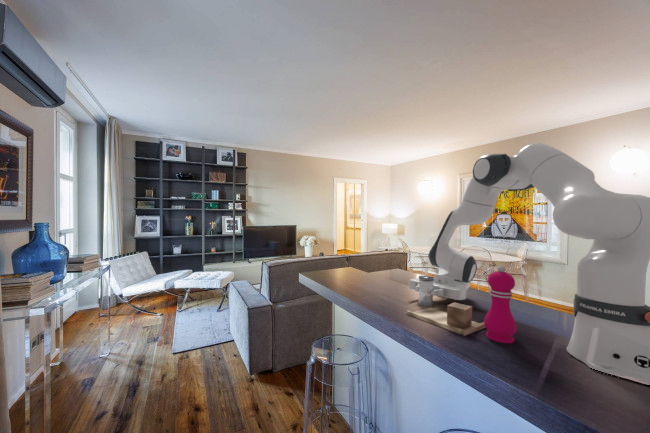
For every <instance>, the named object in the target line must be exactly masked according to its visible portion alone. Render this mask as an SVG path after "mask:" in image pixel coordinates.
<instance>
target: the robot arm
mask: <svg viewBox="0 0 650 433" xmlns="http://www.w3.org/2000/svg"><path fill="white" fill-rule="evenodd" d="M595 178H596V176H595V173H594V171H593V170H591V169H590V168H588V167H586V166H585V165H584V164H582V163H581V162H579V161H577V160H576V159H575V158H573V157H572V156H570V155H568V154H567V153H565V152H563V151H561V150H560V149H558V148H555V147H553V146H551V145H547V144H545V143H543V142H542V143H541V142H534V143H531V144H528V145H526V146H524V147H523V148H521V149H520V150H519V151H518V153H517V154H514V155H509V154H507V153H488V154H485V155H482V156H480V157H478V159H476V161H475V163H474V164H473V168H472V177H471V179H470V181H469V183H468V185H467V187H466V189H465V192H464V195H463V197H462V201H461V203H460V205H459V206H458V207H457V208H456V209H453V210H451V211H450V213H449V214H448V216H447V218H446V220H445V221H444V223H443V226H442V228H441V230H440V231H439V234H438V236H437V237H436V240H435V242H434V244H433V245H432V247H431V248H430V250H429V253H428V259H429V262H430V264H431V266H432V267H433V266H434V267H436V268H438V269H441V270H444V271H446V272H447V273H443V274H440V275H436V276H434V280H433V290H431V295H433V297H438V298H440V299H450V300H455V301H465V300H466V299H467V291H468V289H469V288H470V286H471V284H472V281H473V279H474V278H475V276H476V273H477V270H478V266H477V262H476V259H475V258H474V256H473V255H469V254H467V253H465V252H462V251H460V250H457V249H455V248H452V247H451V246H450V245H449V243H450V241H451V239H452V237H453V235H454V233H455V231H456V229H457V228H459V227H460V226H475V225H481V224H484V223H486V222H487V221H488V220H490V219H491V217H492V215H493V213H494V211H495V208H496V205H497V201H498V198H499V196H500V194H501V192H503V191H506V190H507V191H508V192H514V191H515V192H516V191H526V190H531V189H533V188H535V189H536V190H538V192H539V193H540V194H542V195H543V196H544V197H545V198H546V199H547V200H548V201H550V203H551V205H552V206H553V212H552V220H553V223H554V225H555V226H556V228H557V229H558V230H559V231H561V233H563V234H566V235H568V236H572V237H575V238H578V239H580V238H581V239H583V240H593V242H592V244H591V247H590V249H589V251H587V254H585V256H583V257H582V258H581V259H579V260H580V261H579V262H578V264H577V270H576V271H577V274H576V276H577V277H576V279H577V280H576V282H577V283H576V293H575V294H574V298H573V306H572V307H573V308H572V309H573V316H574V318H575V319H574V322H573V323H574V324H573V329H572V332H571V337H570V339H569V341H568V345H567V347H566V351H567V353H569V354H570V355H571V356H573V357H574V358H575V359H577V360H579V361H581V362H582V363H584V364H586V366H588V368H590V369H591V368H592V370H593V369H595V370H598V371H602V372H607V373H613V374H617V375H620V376H628V377H633V378H635V379H638V380H640V381H643V382H647V383H649V384H650V306H649V305H647V304H646V282H647V272H648V271H647V270H648V265H649V263H650V197H649V196H646V195H642V194H629V193H618V192H614V191H610V190H608V189H605V188H603V187H602V186H601V185H599V184H598V183H597V181H596V180H595ZM408 288H409V289H411V290H414V291H415V292H418V293H419V278H410V279H409V280H408ZM595 370H594V371H595ZM598 371H597V372H598Z"/></svg>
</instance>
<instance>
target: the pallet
mask: <svg viewBox="0 0 650 433" xmlns="http://www.w3.org/2000/svg"><path fill="white" fill-rule="evenodd" d="M405 313H406V315H408V316H410V317H413V318H416V319H419V320H421V321H424V322H426V323H429V324H432V325H433V326H437V327H440V328H443V329H446V330H448V331H451V332H453V333H456V334H460V335H461V336H467V335H470V334H473V333H476V332H479V331H480V330H483V329H486V327H485V326H484V321H483V322H480V323H479V322H477V321H473V320H472V327H469V328H466V329H464V330H463V329H460V328H457V327H454V326H451V325H448V324H447V311H446V312H445V311H442V310H439V309H436V308H433V307H428V308H424V309H420V310H417V311H412V310H409V309H408V310H406V312H405Z"/></svg>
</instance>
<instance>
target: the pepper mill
mask: <svg viewBox="0 0 650 433" xmlns="http://www.w3.org/2000/svg"><path fill="white" fill-rule="evenodd" d="M487 283H488V285H489V287H490V289H489V294H490V296H491V305H490V308H489V310H488V311H487V312H486V314H485V317H484V321H483V322H484V326H485V327H486V328H485V329H486V330H487V331H486V332H485V337H486V338H488V339H489V340H492V341H495V342H497V343H502V344H503V343H504V344H513V343H514V342H515V338H514V337H513V335H515V334H516V333H517V329H518V328H517V324H516V319H515V317H514V316H513V313H512V311H511V308H510V306H511V305H510V303H511V302H510V300H511V299H512V298H513V292H512V290H513V289H514V288H515V286H516V282H515V278H514V277H513V276H512V274H510V273H508V272H506V267H505V266H503V265H499V266H498V267H497V271H493V272H492V273H490V274H489V275H488V278H487Z"/></svg>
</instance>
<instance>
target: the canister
mask: <svg viewBox="0 0 650 433" xmlns="http://www.w3.org/2000/svg"><path fill="white" fill-rule="evenodd" d="M434 277H435V276H434ZM434 277H433V276H430V275H418V279H419V292H418V305H420V306H424V307H432V306H433V304H434V296H433V295H431V290H433V280H434Z"/></svg>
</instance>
